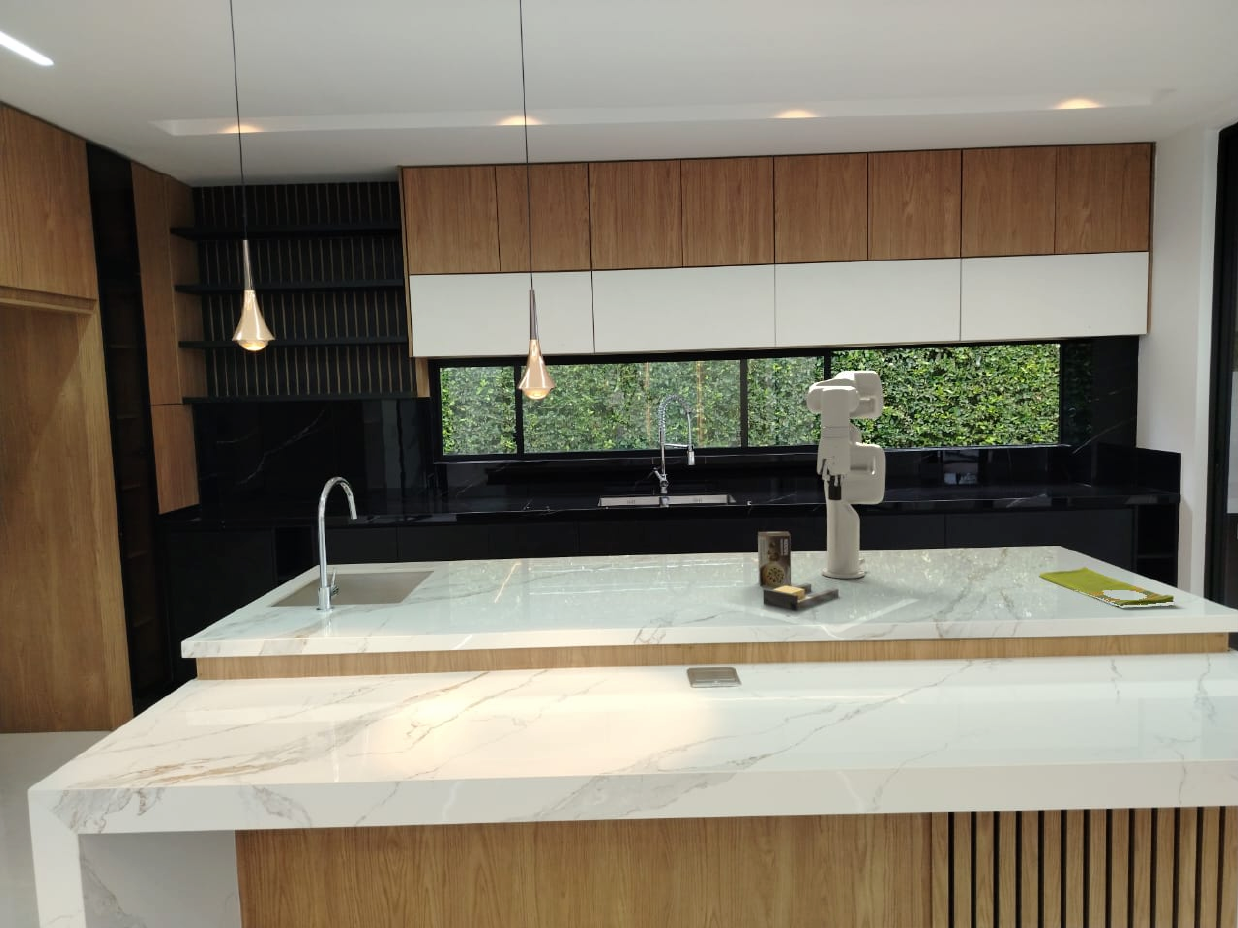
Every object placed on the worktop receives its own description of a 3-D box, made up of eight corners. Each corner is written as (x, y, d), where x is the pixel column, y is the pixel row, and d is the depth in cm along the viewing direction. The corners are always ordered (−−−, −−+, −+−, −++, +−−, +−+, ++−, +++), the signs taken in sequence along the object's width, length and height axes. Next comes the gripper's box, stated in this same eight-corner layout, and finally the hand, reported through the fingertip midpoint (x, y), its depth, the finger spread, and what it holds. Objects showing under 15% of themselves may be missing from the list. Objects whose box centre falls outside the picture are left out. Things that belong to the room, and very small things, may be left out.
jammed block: (785, 599, 231) (785, 585, 231) (804, 603, 227) (804, 589, 227) (772, 604, 227) (772, 589, 227) (791, 608, 223) (791, 593, 223)
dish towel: (1121, 611, 221) (1122, 599, 220) (1037, 578, 256) (1037, 568, 256) (1176, 608, 222) (1177, 596, 222) (1085, 576, 258) (1085, 565, 257)
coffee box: (789, 585, 253) (789, 531, 251) (791, 590, 246) (791, 535, 245) (757, 585, 254) (757, 531, 252) (759, 590, 247) (759, 535, 245)
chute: (800, 592, 243) (800, 574, 243) (844, 601, 233) (844, 582, 233) (757, 607, 230) (757, 588, 229) (802, 617, 220) (802, 597, 219)
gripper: (837, 431, 242) (837, 495, 244) (807, 434, 232) (807, 501, 234) (861, 431, 237) (861, 498, 239) (832, 435, 226) (831, 504, 228)
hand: (834, 499), depth 236 cm, fingers closed
